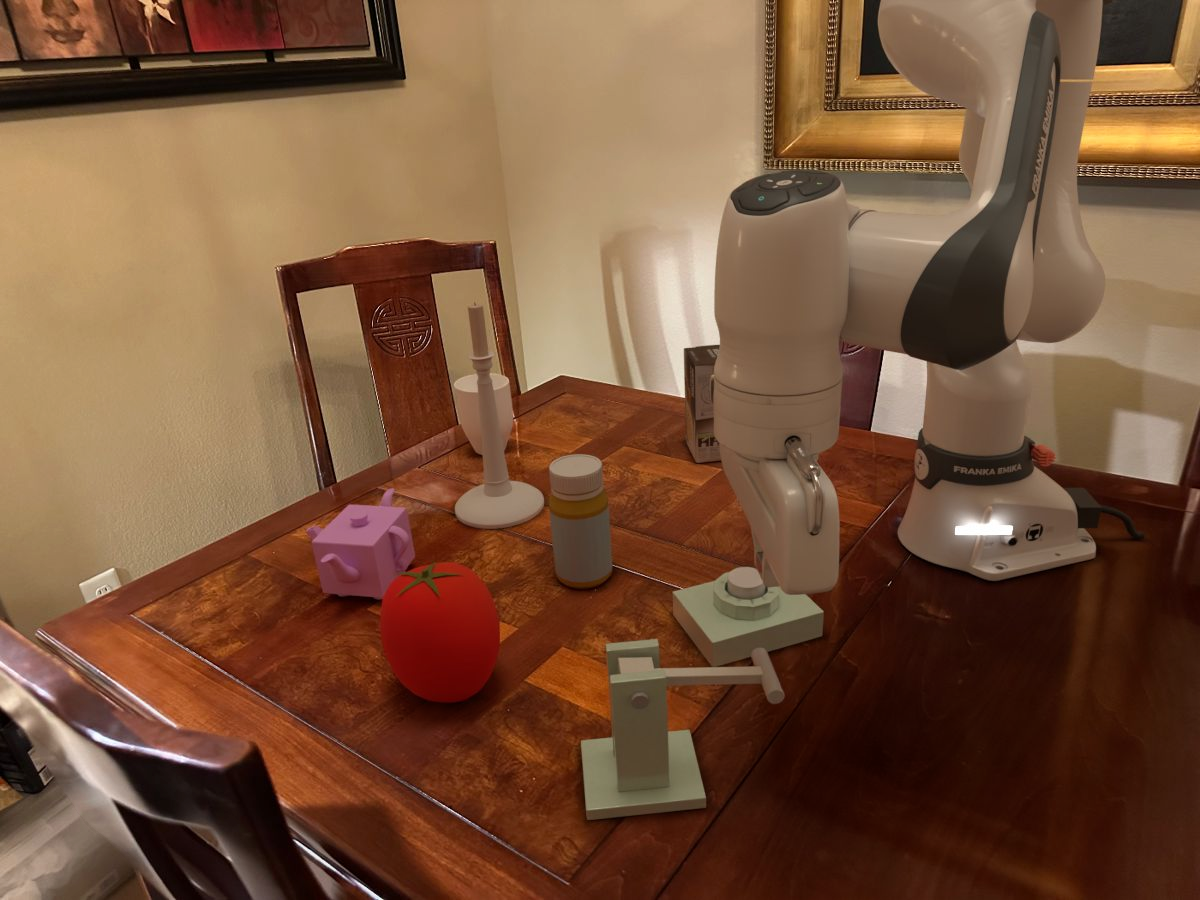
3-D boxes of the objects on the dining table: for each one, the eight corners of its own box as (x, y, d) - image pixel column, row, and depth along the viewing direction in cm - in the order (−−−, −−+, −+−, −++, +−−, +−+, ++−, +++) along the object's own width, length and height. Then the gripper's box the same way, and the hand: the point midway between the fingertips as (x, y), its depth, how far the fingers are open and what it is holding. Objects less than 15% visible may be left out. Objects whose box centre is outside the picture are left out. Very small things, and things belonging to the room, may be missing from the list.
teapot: (353, 541, 114) (339, 477, 110) (443, 547, 111) (433, 482, 107) (280, 620, 98) (261, 548, 94) (383, 630, 95) (369, 556, 91)
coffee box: (736, 459, 130) (737, 361, 124) (695, 464, 130) (694, 365, 123) (721, 436, 139) (722, 343, 132) (683, 440, 138) (681, 346, 132)
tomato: (366, 689, 86) (340, 572, 80) (451, 634, 94) (433, 523, 88) (446, 743, 79) (425, 618, 73) (531, 678, 86) (518, 560, 80)
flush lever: (765, 665, 73) (768, 642, 72) (783, 708, 68) (786, 685, 67) (615, 668, 72) (616, 645, 71) (621, 712, 67) (622, 688, 66)
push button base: (774, 588, 98) (775, 551, 96) (822, 636, 90) (825, 597, 88) (672, 615, 95) (671, 577, 93) (712, 668, 86) (712, 628, 84)
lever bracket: (689, 739, 77) (687, 624, 72) (706, 808, 70) (705, 686, 65) (581, 750, 77) (571, 635, 72) (586, 820, 70) (575, 699, 64)
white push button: (753, 576, 93) (753, 563, 92) (772, 595, 89) (772, 581, 88) (721, 585, 92) (720, 571, 91) (738, 604, 88) (738, 590, 87)
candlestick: (553, 487, 126) (534, 289, 113) (532, 530, 114) (509, 315, 102) (471, 485, 128) (444, 290, 116) (442, 527, 116) (409, 316, 104)
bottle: (606, 593, 99) (599, 479, 93) (549, 589, 101) (538, 477, 95) (617, 561, 106) (610, 453, 99) (563, 558, 107) (553, 451, 101)
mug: (509, 461, 135) (501, 391, 130) (456, 460, 136) (446, 391, 131) (525, 432, 145) (518, 366, 141) (476, 432, 147) (467, 366, 142)
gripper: (873, 471, 51) (856, 657, 56) (781, 365, 69) (775, 512, 75) (770, 480, 50) (763, 665, 56) (705, 370, 69) (705, 518, 75)
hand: (769, 576), depth 66 cm, fingers closed
